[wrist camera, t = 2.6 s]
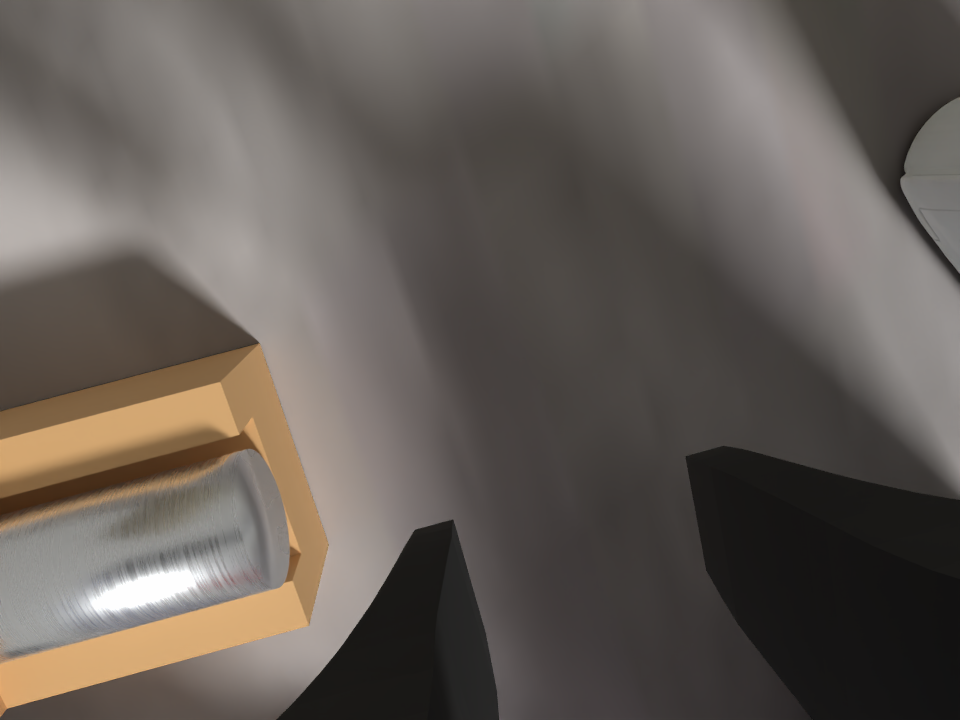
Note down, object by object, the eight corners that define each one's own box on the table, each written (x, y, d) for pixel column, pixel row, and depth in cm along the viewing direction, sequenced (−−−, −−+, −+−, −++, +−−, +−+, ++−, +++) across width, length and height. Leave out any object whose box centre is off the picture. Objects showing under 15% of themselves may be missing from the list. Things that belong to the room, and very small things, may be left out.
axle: (256, 428, 16) (221, 485, 13) (297, 541, 16) (273, 618, 14) (-178, 544, 15) (-314, 629, 13) (-115, 653, 16) (-228, 756, 13)
